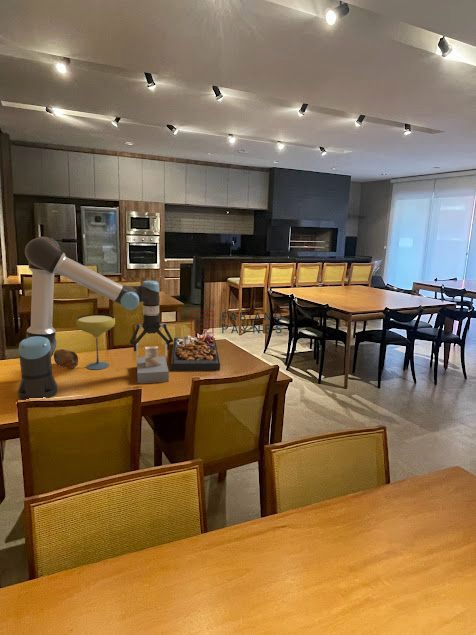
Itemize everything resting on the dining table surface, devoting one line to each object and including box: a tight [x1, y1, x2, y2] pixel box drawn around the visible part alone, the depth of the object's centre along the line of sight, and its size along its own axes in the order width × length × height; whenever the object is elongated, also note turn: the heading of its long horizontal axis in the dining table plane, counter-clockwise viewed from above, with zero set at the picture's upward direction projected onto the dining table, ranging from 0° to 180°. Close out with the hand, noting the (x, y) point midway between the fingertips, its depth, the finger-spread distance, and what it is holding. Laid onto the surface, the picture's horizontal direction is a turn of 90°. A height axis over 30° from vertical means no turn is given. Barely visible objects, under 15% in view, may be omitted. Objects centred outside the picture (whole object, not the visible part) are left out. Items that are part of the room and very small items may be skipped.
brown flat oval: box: [53, 348, 79, 370], centre depth 208 cm, size 15×3×8 cm, turn 62°
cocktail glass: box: [75, 313, 116, 371], centre depth 207 cm, size 18×18×25 cm
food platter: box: [170, 331, 221, 372], centre depth 230 cm, size 45×25×10 cm, turn 7°
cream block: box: [144, 346, 159, 367], centre depth 201 cm, size 6×6×8 cm
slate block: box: [136, 355, 170, 384], centre depth 202 cm, size 14×22×5 cm, turn 14°
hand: (151, 356), depth 201 cm, fingers open, 13 cm apart
